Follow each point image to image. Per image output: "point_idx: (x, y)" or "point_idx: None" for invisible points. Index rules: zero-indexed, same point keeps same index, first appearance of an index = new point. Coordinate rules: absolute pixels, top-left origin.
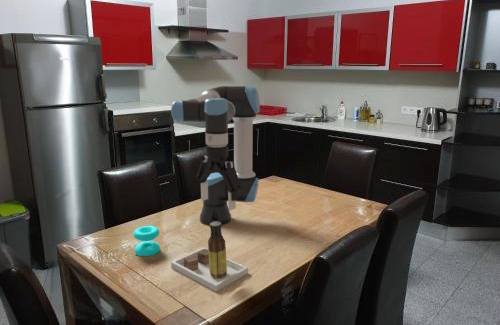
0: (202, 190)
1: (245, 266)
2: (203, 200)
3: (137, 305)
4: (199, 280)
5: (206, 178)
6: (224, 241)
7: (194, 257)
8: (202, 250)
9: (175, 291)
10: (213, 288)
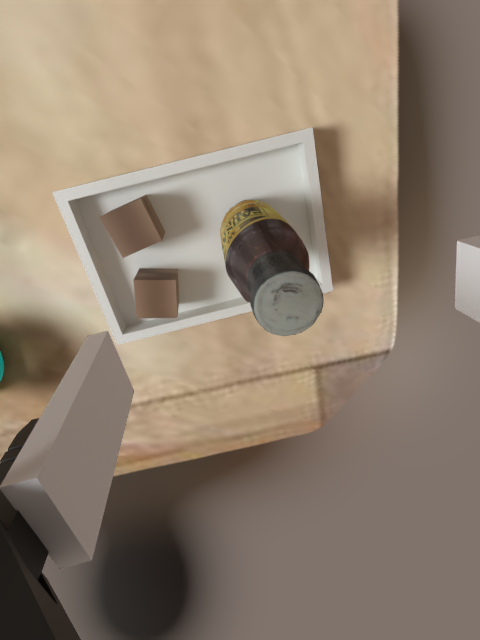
0: (113, 468)
1: (300, 130)
2: (129, 382)
3: (245, 446)
4: None
5: (29, 572)
6: (298, 238)
7: (156, 285)
8: (115, 232)
9: (244, 364)
10: None
